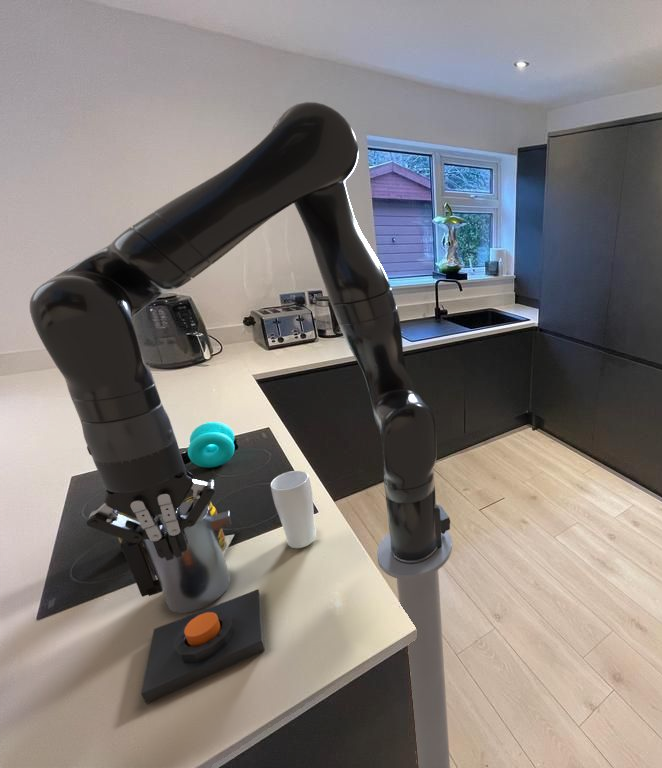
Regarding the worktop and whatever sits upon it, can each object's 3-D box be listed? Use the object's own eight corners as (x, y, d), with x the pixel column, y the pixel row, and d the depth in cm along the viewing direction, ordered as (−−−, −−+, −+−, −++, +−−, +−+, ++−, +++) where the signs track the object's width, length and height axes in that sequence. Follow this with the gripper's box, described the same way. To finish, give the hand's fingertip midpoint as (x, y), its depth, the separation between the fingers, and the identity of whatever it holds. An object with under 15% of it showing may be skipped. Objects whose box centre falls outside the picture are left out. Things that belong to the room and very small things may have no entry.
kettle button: (221, 617, 62) (217, 607, 62) (220, 637, 59) (216, 627, 59) (189, 629, 60) (185, 620, 60) (186, 651, 57) (182, 641, 57)
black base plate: (261, 598, 70) (256, 581, 68) (264, 650, 61) (259, 632, 60) (158, 638, 63) (150, 620, 61) (146, 704, 54) (136, 685, 53)
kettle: (246, 558, 78) (225, 485, 72) (247, 591, 71) (224, 513, 65) (153, 590, 71) (121, 511, 65) (144, 630, 64) (107, 546, 58)
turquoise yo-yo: (193, 474, 104) (182, 440, 100) (195, 456, 112) (185, 425, 108) (238, 463, 109) (229, 431, 106) (237, 447, 117) (229, 416, 113)
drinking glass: (327, 535, 84) (316, 475, 79) (299, 557, 79) (286, 494, 73) (305, 525, 87) (293, 466, 82) (276, 545, 81) (261, 484, 76)
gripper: (204, 419, 54) (233, 521, 61) (67, 444, 48) (116, 556, 54) (201, 442, 49) (233, 552, 55) (44, 475, 42) (102, 596, 48)
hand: (175, 554), depth 54 cm, fingers closed
